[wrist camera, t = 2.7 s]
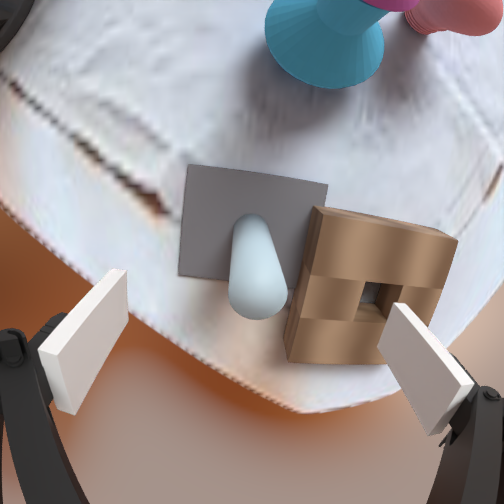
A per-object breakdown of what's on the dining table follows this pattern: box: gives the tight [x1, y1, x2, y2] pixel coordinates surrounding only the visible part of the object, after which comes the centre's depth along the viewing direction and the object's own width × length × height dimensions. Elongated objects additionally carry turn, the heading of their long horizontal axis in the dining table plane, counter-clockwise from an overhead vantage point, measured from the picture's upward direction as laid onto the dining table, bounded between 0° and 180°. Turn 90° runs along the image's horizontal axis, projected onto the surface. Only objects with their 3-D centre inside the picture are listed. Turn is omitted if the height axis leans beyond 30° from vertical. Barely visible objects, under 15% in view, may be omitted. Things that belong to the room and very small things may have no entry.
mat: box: [179, 164, 328, 289], centre depth 27 cm, size 12×10×1 cm
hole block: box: [283, 205, 458, 364], centre depth 28 cm, size 14×14×4 cm
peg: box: [228, 214, 288, 320], centre depth 21 cm, size 3×3×12 cm
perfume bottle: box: [265, 0, 420, 89], centre depth 15 cm, size 9×9×15 cm
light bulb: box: [405, 0, 503, 36], centre depth 15 cm, size 7×7×12 cm
